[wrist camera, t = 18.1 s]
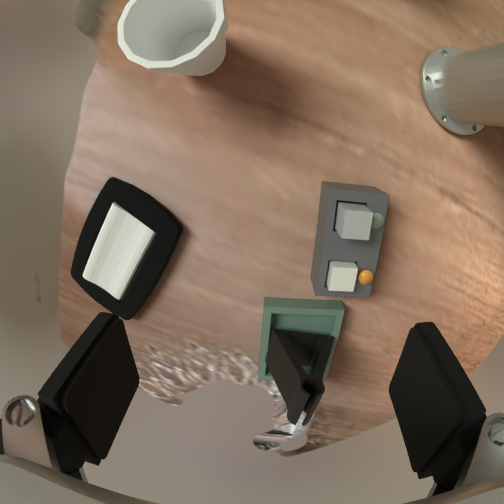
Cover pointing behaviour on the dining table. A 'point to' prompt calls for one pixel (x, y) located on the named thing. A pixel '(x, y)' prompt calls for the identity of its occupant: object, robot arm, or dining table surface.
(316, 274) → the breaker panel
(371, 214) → the block
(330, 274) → the block
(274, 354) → the phone stand
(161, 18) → the foam cup
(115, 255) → the light switch
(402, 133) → the dining table surface
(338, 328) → the tray
